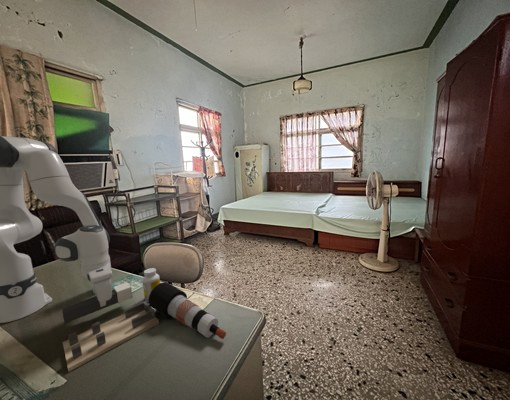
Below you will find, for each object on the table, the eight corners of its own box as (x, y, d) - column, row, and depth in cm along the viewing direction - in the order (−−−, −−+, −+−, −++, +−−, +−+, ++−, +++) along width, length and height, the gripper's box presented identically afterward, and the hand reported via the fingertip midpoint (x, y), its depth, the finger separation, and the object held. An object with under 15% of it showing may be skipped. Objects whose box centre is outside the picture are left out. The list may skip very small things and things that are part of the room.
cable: (219, 358, 67) (208, 344, 62) (156, 312, 85) (143, 298, 80) (237, 327, 74) (228, 313, 68) (175, 291, 92) (164, 277, 86)
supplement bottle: (164, 293, 97) (161, 266, 95) (158, 302, 90) (154, 273, 89) (149, 294, 97) (145, 267, 95) (142, 303, 90) (138, 274, 88)
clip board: (63, 345, 70) (60, 333, 69) (144, 307, 87) (143, 298, 87) (68, 372, 60) (65, 358, 59) (158, 323, 78) (157, 312, 77)
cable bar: (63, 317, 77) (61, 305, 76) (128, 292, 92) (127, 282, 91) (64, 324, 73) (62, 311, 73) (132, 297, 88) (131, 286, 88)
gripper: (81, 263, 86) (86, 295, 88) (91, 280, 72) (96, 318, 74) (100, 258, 90) (104, 289, 92) (113, 274, 76) (117, 310, 78)
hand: (101, 302), depth 83 cm, fingers closed on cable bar, 4 cm apart
